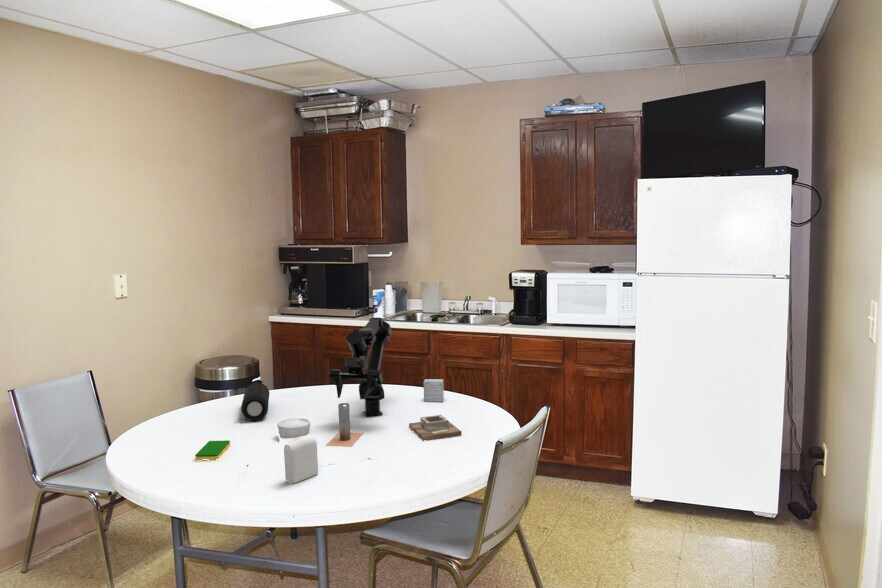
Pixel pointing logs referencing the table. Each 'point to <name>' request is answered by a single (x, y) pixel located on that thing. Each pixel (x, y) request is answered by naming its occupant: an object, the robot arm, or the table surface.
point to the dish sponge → (212, 450)
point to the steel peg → (344, 421)
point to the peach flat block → (349, 443)
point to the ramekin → (293, 427)
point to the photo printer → (300, 459)
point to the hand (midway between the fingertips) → (351, 397)
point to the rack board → (434, 428)
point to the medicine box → (433, 390)
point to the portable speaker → (255, 402)
